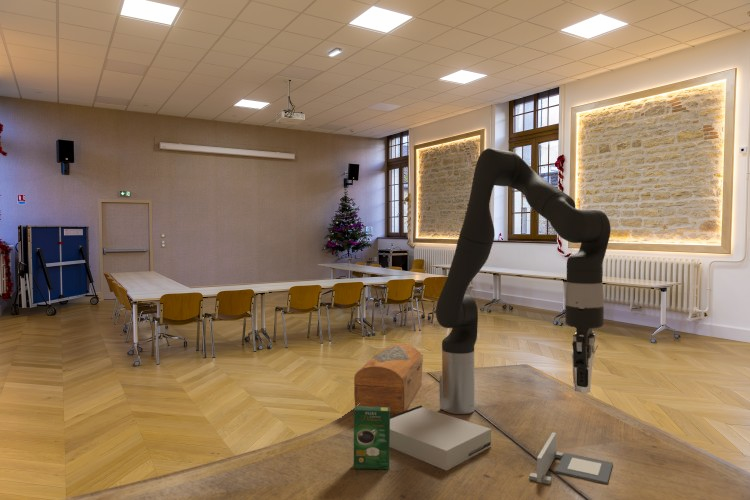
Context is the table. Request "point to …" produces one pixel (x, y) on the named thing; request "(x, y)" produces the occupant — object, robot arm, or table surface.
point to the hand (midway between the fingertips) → (584, 383)
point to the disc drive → (437, 437)
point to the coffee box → (371, 437)
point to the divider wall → (546, 460)
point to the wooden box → (390, 379)
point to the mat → (585, 468)
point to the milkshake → (588, 388)
